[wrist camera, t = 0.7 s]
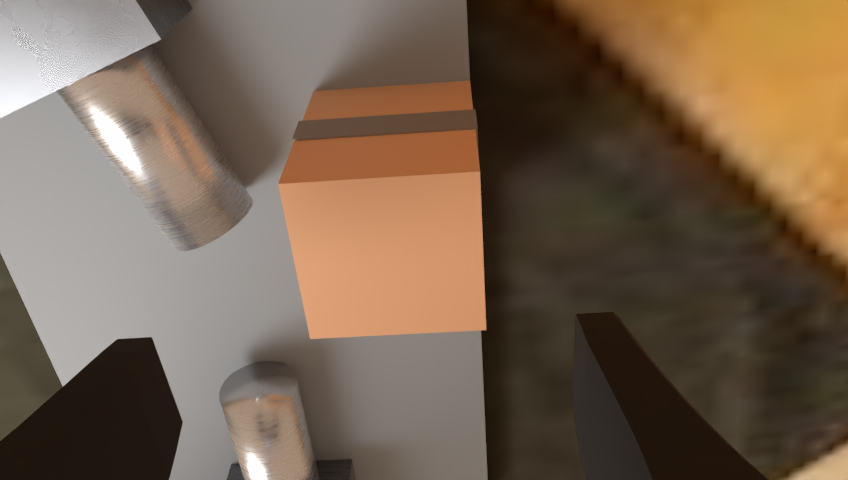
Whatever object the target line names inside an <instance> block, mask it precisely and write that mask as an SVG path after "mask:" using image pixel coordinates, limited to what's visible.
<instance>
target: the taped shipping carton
mask: <svg viewBox="0 0 848 480" xmlns="http://www.w3.org/2000/svg"><path fill="white" fill-rule="evenodd" d="M292 143H293V146H292V149H291V151H290V154H289V156H288V159H287V162H286V164H285V167H284V169H283V172H282V175H281V177H280V180H279V183H278V187H279V192H280V196H281V201H282V206H283V211H284V216H285V220H286V225H287V230H288V235H289V240H290V244H291V249H292V254H293V259H294V264H295V268H296V273H297V278H298V283H299V288H300V292H301V297H302V302H303V307H304V312H305V316H306V321H307V326H308V331H309V336H310V339H321V338H341V337H360V336H380V335H400V334H420V333H440V332H459V331H479V330H486V308H485V282H484V257H483V231H482V206H481V180H480V166H479V148H478V126H477V117H476V109H473V103H472V94H471V85H470V81H455V82H440V83H426V84H411V85H397V86H382V87H367V88H353V89H338V90H323V91H313V94H312V96H311V99H310V102H309V104H308V107H307V109H306V112H305V115H304V117H303V120H302V121H299V122H298V125H297V127H296V130H295V132H294V135H293V137H292Z"/></svg>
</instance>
